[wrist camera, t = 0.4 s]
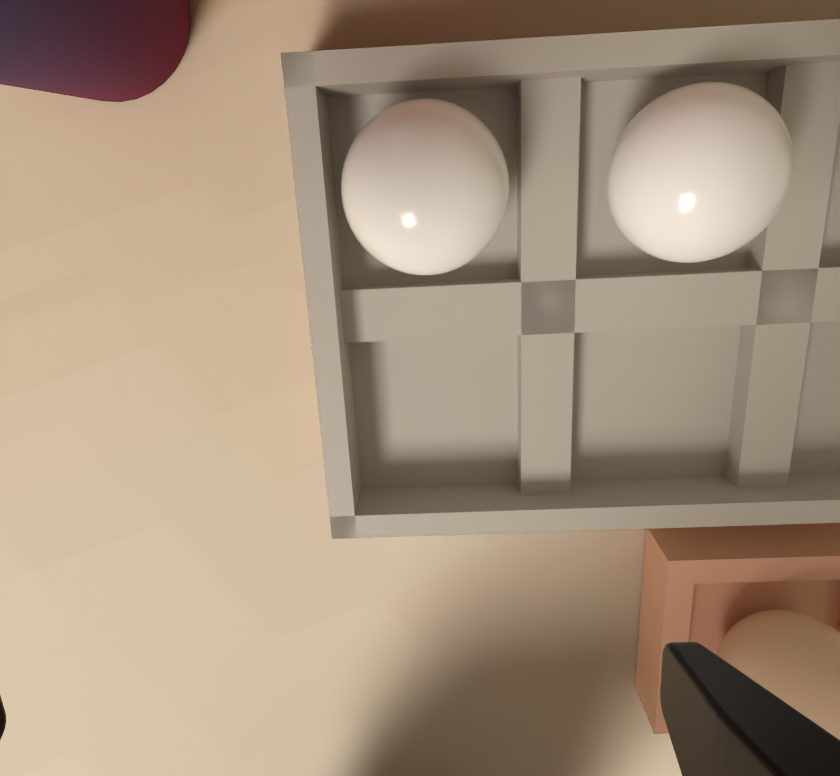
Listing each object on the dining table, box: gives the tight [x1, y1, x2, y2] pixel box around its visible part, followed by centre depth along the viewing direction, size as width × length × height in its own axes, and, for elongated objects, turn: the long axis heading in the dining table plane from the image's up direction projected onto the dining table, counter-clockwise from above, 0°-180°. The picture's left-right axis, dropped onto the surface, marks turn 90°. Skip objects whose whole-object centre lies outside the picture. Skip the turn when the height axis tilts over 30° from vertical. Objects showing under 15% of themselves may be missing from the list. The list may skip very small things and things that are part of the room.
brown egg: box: [717, 609, 840, 740], centre depth 19 cm, size 4×4×4 cm
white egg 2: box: [606, 82, 794, 263], centre depth 16 cm, size 4×4×4 cm
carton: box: [281, 19, 840, 539], centre depth 18 cm, size 14×21×2 cm, turn 93°
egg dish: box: [635, 523, 840, 734], centre depth 22 cm, size 7×7×2 cm
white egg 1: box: [341, 98, 509, 275], centre depth 16 cm, size 4×4×4 cm
